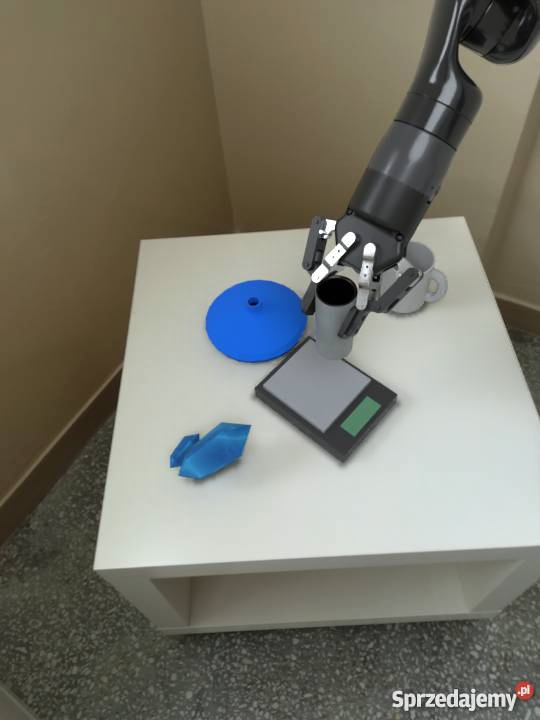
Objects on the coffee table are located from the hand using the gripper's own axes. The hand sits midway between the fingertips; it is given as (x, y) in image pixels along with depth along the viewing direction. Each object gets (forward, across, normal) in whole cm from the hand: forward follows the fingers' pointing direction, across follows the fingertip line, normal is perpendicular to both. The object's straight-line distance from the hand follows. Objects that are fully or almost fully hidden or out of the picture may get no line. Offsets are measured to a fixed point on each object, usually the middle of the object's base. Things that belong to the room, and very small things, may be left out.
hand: (324, 325), depth 60 cm
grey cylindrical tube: (+3, 0, +6) cm, 7 cm away
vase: (+11, -16, +16) cm, 26 cm away
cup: (-3, -2, +31) cm, 31 cm away
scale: (+13, 0, +14) cm, 19 cm away
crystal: (+25, -6, +2) cm, 26 cm away
